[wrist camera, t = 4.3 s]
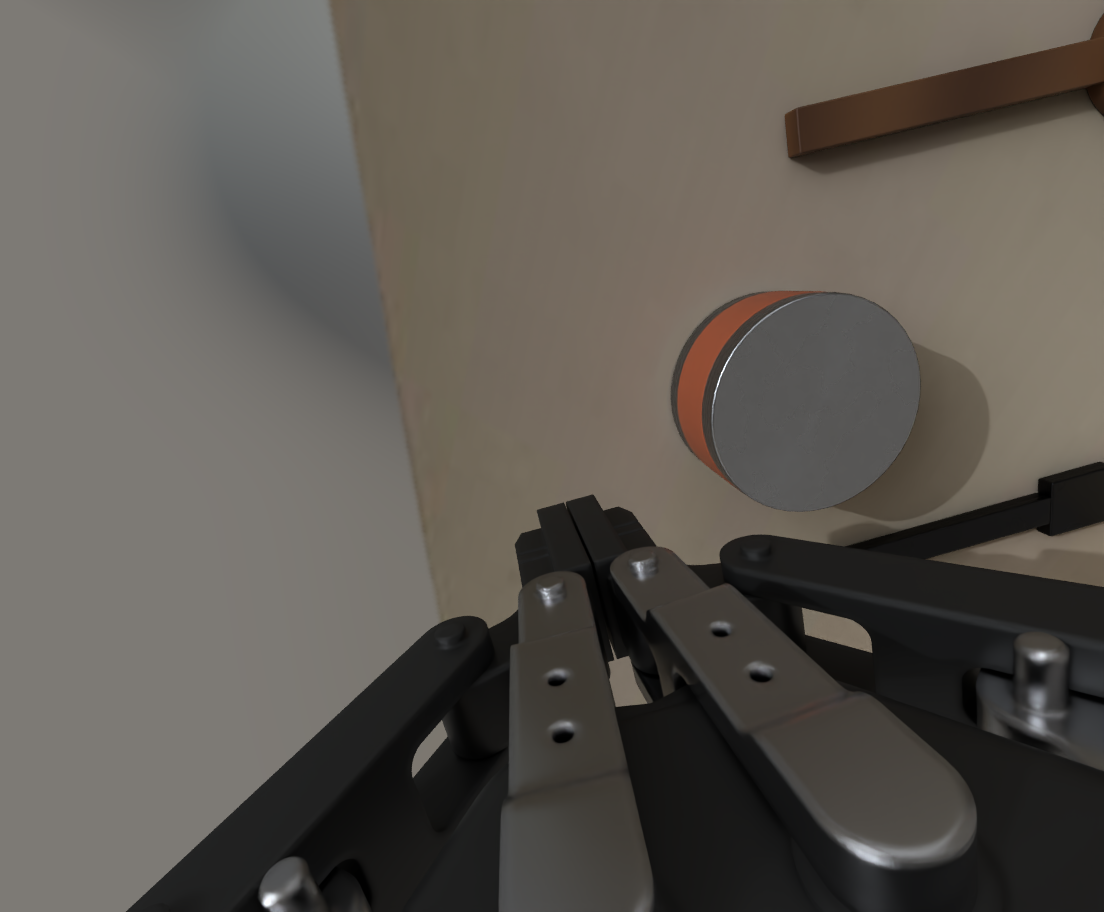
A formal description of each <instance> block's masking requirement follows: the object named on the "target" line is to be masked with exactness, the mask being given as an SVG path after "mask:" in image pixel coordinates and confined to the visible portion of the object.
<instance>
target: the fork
mask: <svg viewBox="0 0 1104 912" xmlns="http://www.w3.org/2000/svg"><path fill="white" fill-rule="evenodd" d="M1103 521H1104V463H1103V462H1097V463H1093V464H1090V465H1086V466H1083V467H1079V468H1075V469H1072V470H1068V471H1065V472H1061V473H1058V474H1054V475H1050V476H1047V477H1043V478H1040V479H1039V480H1038V493H1034V494H1030V495H1027V496H1023V497H1020V498H1016V499H1013V500H1009V501H1005V502H1002V503H998V504H995V505H991V506H988V507H984V508H981V509H977V510H973V511H970V512H966V513H963V514H959V515H956V516H952V517H949V518H945V519H942V520H938V521H934V522H931V523H927V524H924V525H920V526H917V527H913V528H910V529H906V530H902V531H899V532H895V533H892V534H888V535H885V536H881V537H878V538H874V539H870V540H867V541H863V542H860V543H856V544H853V545H849V546H846V547H849V548H856V549H862V550H869V551H875V552H881V553H888V554H894V555H901V556H907V557H913V558H920V559H928V558H931V557H935V556H938V555H942V554H945V553H949V552H952V551H956V550H959V549H963V548H966V547H970V546H973V545H977V544H980V543H984V542H987V541H991V540H994V539H998V538H1001V537H1005V536H1008V535H1012V534H1015V533H1019V532H1022V531H1026V530H1029V529H1033V528H1036V527H1037V531H1039V532H1041V533H1044V534H1046V535H1048V536H1054V535H1057V534H1061V533H1064V532H1068V531H1071V530H1075V529H1078V528H1082V527H1085V526H1089V525H1092V524H1096V523H1099V522H1103Z"/></svg>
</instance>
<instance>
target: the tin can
mask: <svg viewBox="0 0 1104 912" xmlns="http://www.w3.org/2000/svg"><path fill="white" fill-rule="evenodd" d="M920 390H921V378H920V368H919V363H918V359H917V355H916V352H915V350H914V347H913V344H912V342H911V340H910V338H909V337H908V335H907V333H906V331H905V330H904V328H903V327H902V326H901V325H900V323H899V322H898V321H897V320H896V319H895V318H894V317H893V316H892V315H891V314H890V313H889V312H888V311H886V310H885V309H883V308H882V307H880V306H879V305H877V304H876V303H874V302H872V301H870V300H867V299H865V298H863V297H859V296H855V295H852V294H846V293H837V292H821V291H771V292H758V293H752V294H748V295H745V296H742V297H739V298H736V299H734V300H732V301H730V302H728V303H726V304H724V305H723V306H721V307H720V308H718V309H717V310H715V311H714V312H713V313H711V314H710V315H709V316H708V317H707V318H705V319H704V320H703V322H702V323H701V324H700V325H699V326H698V327H697V328H696V329H695V330H694V332H693V333H692V335H691V336H690V337H689V339H688V340H687V342H686V344H685V346H684V347H683V349H682V351H681V353H680V356H679V358H678V360H677V363H676V367H675V370H674V374H673V379H672V386H671V405H672V413H673V417H674V421H675V424H676V427H677V429H678V432H679V434H680V436H681V438H682V440H683V441H684V443H685V444H686V446H687V447H688V448H689V450H690V451H691V452H692V453H693V454H694V455H695V456H696V457H697V458H698V459H699V460H701V461H702V462H703V463H704V464H705V465H706V466H708V467H709V468H710V469H711V470H713V471H714V472H715V473H717V474H718V475H719V476H721V477H722V478H723V479H725V480H726V481H727V482H729V483H730V484H731V485H733V486H734V487H735V488H737V489H738V490H740V491H741V492H743V493H744V494H745V495H747V496H748V497H750V498H751V499H753V500H755V501H757V502H759V503H761V504H762V505H765V506H768V507H771V508H774V509H779V510H784V511H796V512H803V511H814V510H819V509H824V508H828V507H831V506H834V505H837V504H840V503H842V502H844V501H846V500H848V499H850V498H852V497H854V496H855V495H857V494H859V493H860V492H862V491H864V490H865V489H866V488H867V487H869V486H870V485H871V484H873V483H874V482H875V481H876V480H877V479H878V478H879V477H880V476H881V475H882V474H883V473H884V472H885V471H886V470H887V469H888V468H889V467H890V465H891V464H892V463H893V462H894V461H895V459H896V458H897V456H898V455H899V453H900V452H901V450H902V449H903V447H904V445H905V443H906V441H907V439H908V437H909V435H910V433H911V430H912V428H913V425H914V423H915V419H916V415H917V412H918V407H919V401H920Z"/></svg>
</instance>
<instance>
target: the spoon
mask: <svg viewBox="0 0 1104 912" xmlns="http://www.w3.org/2000/svg"><path fill="white" fill-rule="evenodd" d="M1084 88H1087V91H1088V94H1089V96H1090V99H1091V100H1092V102H1093V104H1094V106H1095V107H1096V108H1097V109H1098V111H1100V112H1101V113H1102V114H1103V115H1104V14H1103V15H1102V17H1101V18H1100V20H1099V21H1098V23H1097V25H1096V27H1095V29H1094V31H1093V34H1092V36H1091V39H1090V40H1087V41H1083V42H1079V43H1074V44H1070V45H1066V46H1061V47H1057V48H1053V49H1049V50H1044V51H1040V52H1036V53H1031V54H1027V55H1023V56H1018V57H1014V58H1010V59H1005V60H1001V61H997V62H992V63H988V64H984V65H979V66H975V67H971V68H967V69H962V70H958V71H954V72H949V73H945V74H941V75H936V76H932V77H928V78H923V79H919V80H915V81H910V82H906V83H902V84H897V85H893V86H889V87H885V88H880V89H876V90H872V91H867V92H863V93H859V94H854V95H850V96H846V97H841V98H837V99H833V100H828V101H824V102H820V103H815V104H811V105H807V106H803V107H798V108H796V109H794V110H792V111H790V112H788V113H787V114H785V124H786V135H787V146H788V156H789V158H793V157H797V156H801V155H805V154H810V153H814V152H818V151H822V150H826V149H831V148H835V147H839V146H843V145H848V144H852V143H856V142H860V141H864V140H869V139H873V138H877V137H881V136H886V135H890V134H894V133H898V132H902V131H907V130H911V129H915V128H919V127H924V126H928V125H932V124H936V123H940V122H945V121H949V120H953V119H957V118H961V117H966V116H970V115H974V114H978V113H983V112H987V111H991V110H995V109H999V108H1004V107H1008V106H1012V105H1016V104H1021V103H1025V102H1029V101H1033V100H1037V99H1042V98H1046V97H1050V96H1054V95H1058V94H1063V93H1067V92H1071V91H1075V90H1080V89H1084Z"/></svg>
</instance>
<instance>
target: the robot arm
mask: <svg viewBox="0 0 1104 912" xmlns="http://www.w3.org/2000/svg"><path fill="white" fill-rule="evenodd" d="M566 506H567V508H566ZM566 506H565V504H564V503H560V504H557V505H553V506H549V507H546V508H542V509H538V510H537V514H538V518H539V521H540V525H541V528H539V529H536V530H532V531H529V532H525V533H521V535H520V537H519V538H518V540H517V542H516V543H515V548H516V554H517V559H518V564H519V571H520V576H521V582H522V589H521V591H520V592H519V595H518V610H517V611H516V612H515V613H514V614H513V615H512V616H510V617H509V618H508V619H506V620H504V621H503V622H501V623H499V624H497V625H495V626H493V627H491V628H489V629H488V627H487V624H486V622H485V621H484V620H482V619H481V618H478V617H474V616H462V617H456V618H452V619H449V620H446V621H444V622H442V623H440V624H438V625H436V626H434V627H433V628H431V629H430V630H429V631H427V632H426V633H425V634H424V635H423V636H422V637H421V638H420V639H418V640H417V641H416V642H415V643H414V644H413V645H412V646H411V647H410V648H409V649H408V650H407V651H406V652H405V653H404V654H402V655H401V656H400V657H399V658H398V659H397V660H396V661H395V662H394V663H393V664H392V665H391V666H389V667H388V668H387V669H386V670H385V671H384V672H383V673H382V674H381V675H380V676H379V677H378V678H377V679H376V680H374V682H372V683H371V684H370V685H369V686H368V687H367V688H366V689H365V690H364V691H363V692H362V693H360V694H359V695H358V696H357V697H356V698H355V699H354V700H353V701H352V702H351V703H350V704H349V705H348V706H347V707H345V708H344V709H343V710H342V711H341V712H340V713H339V714H338V715H337V716H336V717H335V718H334V719H333V720H331V721H330V722H329V723H328V724H327V725H326V726H325V727H324V728H323V729H322V730H321V731H320V732H319V733H318V734H316V735H315V736H314V737H313V738H312V739H311V740H310V741H309V742H308V743H307V744H306V745H305V746H304V747H303V748H301V749H300V751H298V752H297V753H296V754H295V755H294V756H293V757H292V758H291V759H290V760H289V761H287V762H286V763H285V764H284V765H283V766H282V767H281V768H280V769H279V770H278V771H277V772H276V773H275V774H273V775H272V776H271V777H270V778H269V779H268V780H267V781H266V782H265V783H264V784H263V785H262V786H261V787H259V788H258V789H257V790H256V791H255V792H254V793H253V794H252V795H251V796H250V797H249V798H248V799H247V800H245V801H244V802H243V803H242V804H241V805H240V806H239V807H238V808H237V809H236V810H235V811H234V812H233V813H232V814H230V815H229V816H228V817H227V818H226V819H225V820H224V821H223V822H222V823H221V824H220V825H219V826H218V827H217V828H215V829H214V830H213V831H212V832H211V833H210V834H209V835H208V836H207V837H206V838H205V839H204V840H202V841H201V842H200V843H199V844H198V845H197V846H196V847H195V848H194V849H193V850H192V851H191V852H190V853H189V854H187V855H186V856H185V857H184V858H183V859H182V860H181V861H180V862H179V863H178V864H177V865H176V866H175V867H174V868H172V869H171V870H170V871H169V872H168V873H167V874H166V875H165V876H164V877H163V878H162V879H161V880H159V881H158V882H157V883H156V884H155V885H154V886H153V887H152V888H151V889H150V890H149V891H148V892H147V893H146V894H145V895H143V896H142V897H141V898H140V899H139V900H138V901H137V902H136V903H135V904H134V905H133V906H132V907H131V908H129V909H128V910H127V911H126V912H1104V587H1100V586H1093V585H1087V584H1080V583H1074V582H1067V581H1061V580H1055V579H1048V578H1042V577H1035V576H1029V575H1023V574H1016V573H1010V572H1003V571H997V570H990V569H984V568H978V567H971V566H965V565H958V564H952V563H946V562H939V561H933V560H926V559H920V558H913V557H907V556H901V555H894V554H888V553H881V552H875V551H869V550H862V549H856V548H849V547H843V546H836V545H830V544H824V543H817V542H811V541H804V540H798V539H792V538H785V537H779V536H772V535H749V536H744V537H740V538H737V539H734V540H732V541H730V542H728V543H727V544H726V545H724V546H723V547H722V549H721V551H720V561H721V563H718V564H707V565H686V564H685V563H684V562H683V561H682V560H681V559H680V558H679V557H678V556H677V555H676V554H675V553H674V552H673V551H671V550H669V549H666V548H663V547H657V546H656V545H655V543H654V542H653V541H652V539H651V538H650V536H649V535H648V534H647V532H646V531H645V530H644V529H643V527H642V525H641V524H640V523H639V522H638V520H637V519H636V517H635V516H634V515H633V513H632V512H630V511H628V510H625V509H623V508H620V507H615V508H611V509H608V510H604V511H603V510H602V508H601V506H600V505H599V503H598V501H597V500H596V498H595V496H594V495H589V496H586V497H582V498H578V499H575V500H571V501H567V502H566ZM802 608H806V609H810V610H815V611H819V612H823V613H827V614H831V615H836V616H840V617H844V618H848V619H851V620H853V621H855V622H857V623H858V624H860V625H861V626H862V627H863V628H864V629H865V630H866V631H867V632H868V634H869V636H870V638H871V642H872V653H870V652H867V651H863V650H859V649H856V648H852V647H848V646H844V645H841V644H837V643H833V642H830V641H826V640H822V639H819V638H815V637H811V636H808V635H805V630H804V622H803V614H802ZM609 640H610V641H609ZM610 642H611V645H612V647H613V650H614V652H615V655H616V657H617V659H619V658H622V657H626V656H629V657H630V659H631V663H632V667H633V672H634V676H635V680H636V683H637V685H638V687H639V689H640V691H641V693H642V694H643V696H644V698H645V700H646V702H647V703H648V704H641V705H631V706H621V707H616V706H615V701H614V697H613V693H612V689H611V685H610V681H609V678H610V668H609V664H608V662H609V661H613V660H614V657H613V653H612V649H611V645H610ZM441 720H442V721H443V724H444V727H445V730H446V732H447V735H448V737H447V738H446V739H445V741H444V742H443V743H442V744H441V745H440V746H439V748H438V749H437V750H436V751H435V752H434V754H433V755H432V756H431V757H430V758H429V760H428V761H427V762H426V763H425V764H424V766H423V767H422V768H421V769H420V771H419V772H418V773H417V774H416V775H415V776H414V778H413V777H412V772H411V771H412V762H413V758H414V755H415V753H416V751H417V749H418V747H419V746H420V744H421V743H422V742H423V741H424V740H425V738H426V737H427V736H428V735H429V734H430V733H431V731H432V730H433V729H434V728H435V727H436V726H437V725H438V723H439V722H440V721H441Z"/></svg>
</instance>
